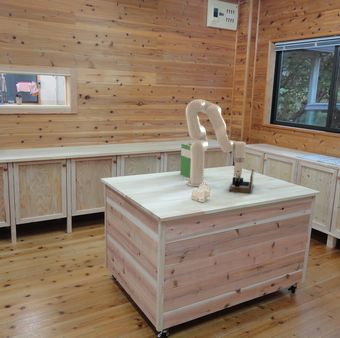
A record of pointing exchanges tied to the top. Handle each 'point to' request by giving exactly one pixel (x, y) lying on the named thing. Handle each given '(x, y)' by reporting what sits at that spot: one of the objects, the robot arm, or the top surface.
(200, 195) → the cream knobbly stepped block
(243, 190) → the brown desk organizer
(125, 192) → the top surface
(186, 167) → the hardback book
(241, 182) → the trainer
